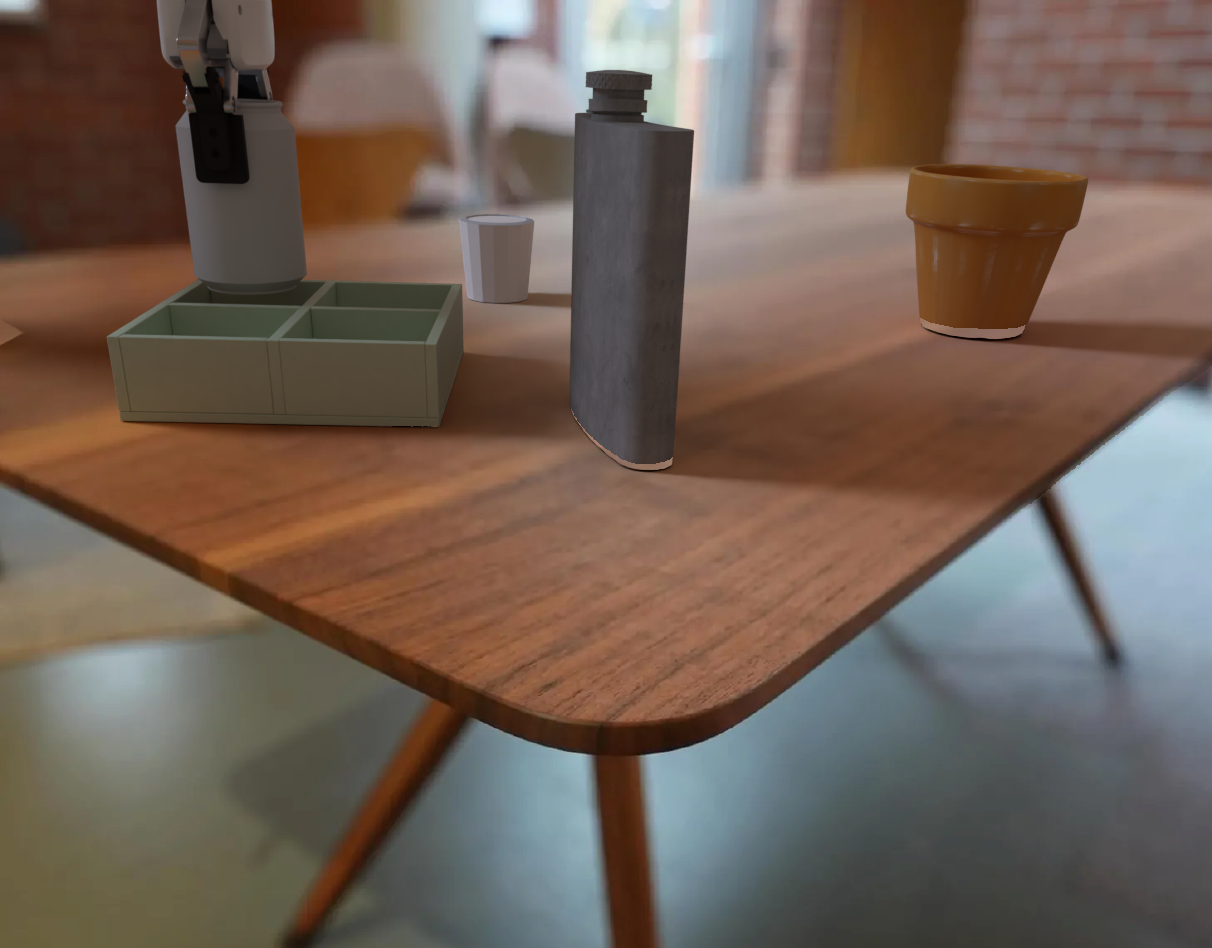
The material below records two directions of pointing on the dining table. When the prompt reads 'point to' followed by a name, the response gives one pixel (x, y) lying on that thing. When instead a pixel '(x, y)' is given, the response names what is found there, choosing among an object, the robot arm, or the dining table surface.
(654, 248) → the hip flask
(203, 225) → the can
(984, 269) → the flower pot
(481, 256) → the shot glass
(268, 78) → the robot arm
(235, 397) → the compartment tray
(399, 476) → the dining table surface
